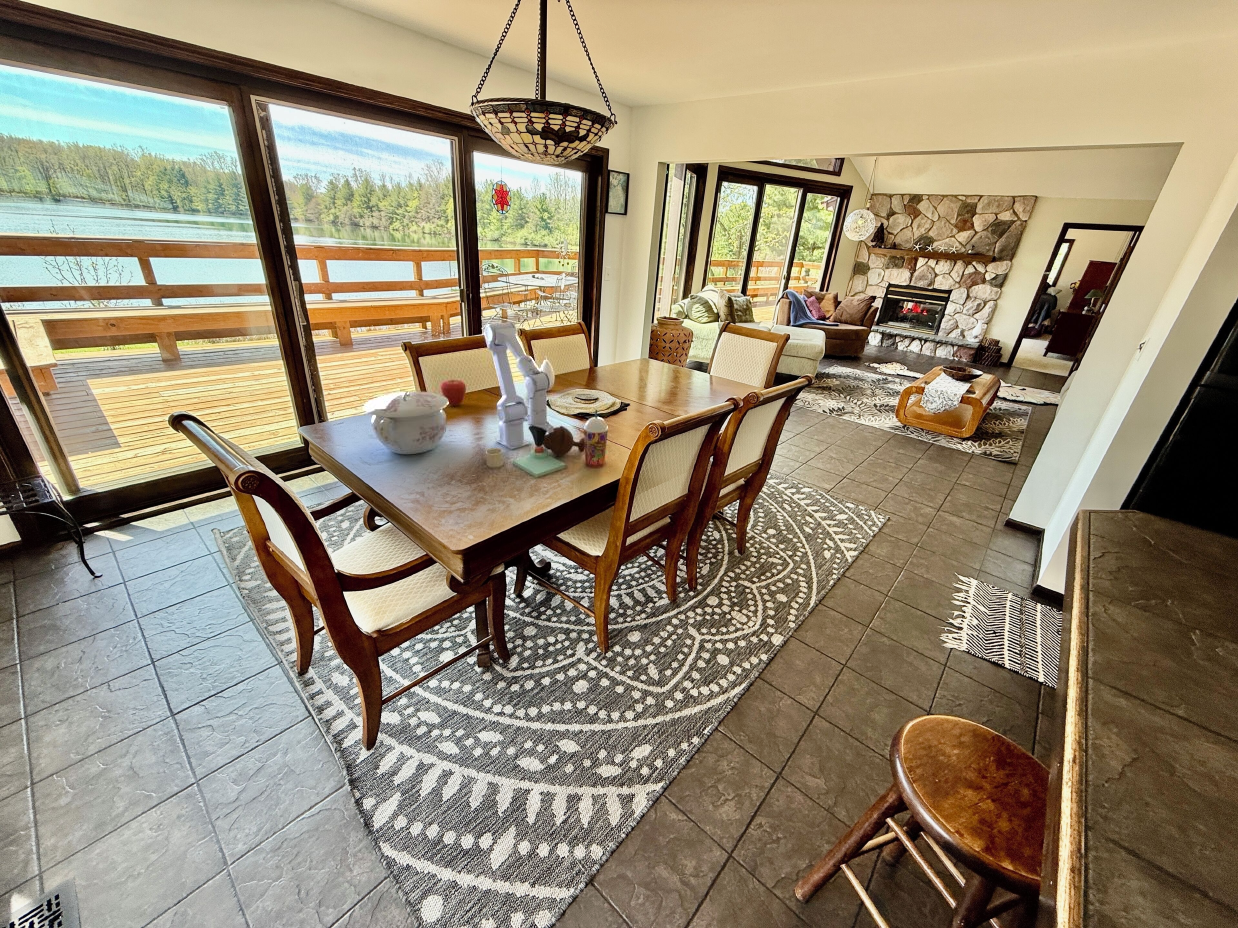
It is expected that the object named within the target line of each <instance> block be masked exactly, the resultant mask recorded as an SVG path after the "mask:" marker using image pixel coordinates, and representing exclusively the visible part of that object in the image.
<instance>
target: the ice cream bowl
mask: <svg viewBox="0 0 1238 928" xmlns="http://www.w3.org/2000/svg"><path fill="white" fill-rule="evenodd" d="M542 446H543V448H545V449H547V450H548V451H551V452H552V454H554V455H555V457H562V456H565V455H567V454H568V453H569V452H570V451H571V450H572V449H573V447H576V448H577V449H578V452H580V453H581V454H582V453H583V452H584V453H585V443H584V437H582V438H580V439H579V441H575V440H574V435H573V434H572V432H571V431H570V430H569V429H568V428H567V427H565V426H563V425H560V426H556V427H554V432H551V433H546V435H545V437H544V441H543V445H542Z"/></svg>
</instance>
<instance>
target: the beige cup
mask: <svg viewBox="0 0 1238 928" xmlns="http://www.w3.org/2000/svg"><path fill="white" fill-rule="evenodd" d="M485 458H486V465H487V466H488V468H492V469H493V468H501V467H502V466H503V465H504V451H503V449H502V448H498V447H493V448H488V449H486V450H485Z"/></svg>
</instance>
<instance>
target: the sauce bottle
mask: <svg viewBox="0 0 1238 928" xmlns="http://www.w3.org/2000/svg"><path fill="white" fill-rule="evenodd" d="M539 370H541V371H543V372H545V373H546V374H547V375H548V377H549V380H550V386H549V388H548V389H546V392H549V391H551V389H552V388H554V384H555V380H556V379H555V372H554V369H553V366H552V363H550V360H548V356H547V355H545V359H544V360H543V363H542V364H541V366H540V367H539Z"/></svg>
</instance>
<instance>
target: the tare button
mask: <svg viewBox="0 0 1238 928" xmlns="http://www.w3.org/2000/svg"><path fill="white" fill-rule="evenodd" d="M534 448H535V453H543V452H544V449H543V448H544V446H543V445H542V446H539V447H537V446H536V445H535V447H534Z"/></svg>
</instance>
